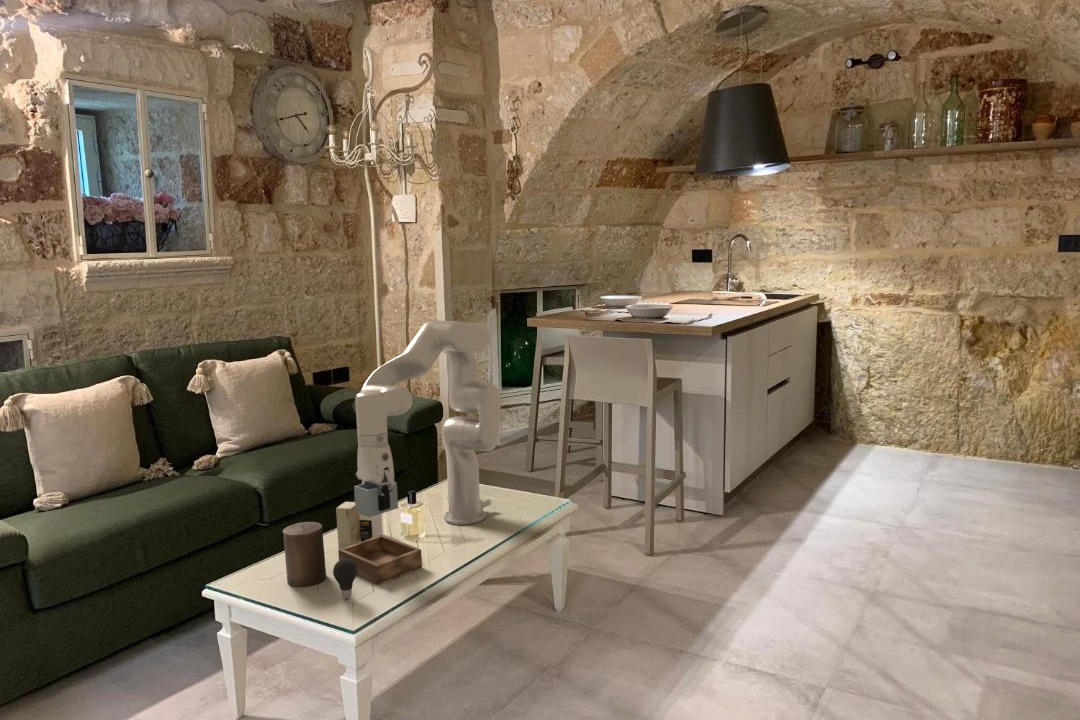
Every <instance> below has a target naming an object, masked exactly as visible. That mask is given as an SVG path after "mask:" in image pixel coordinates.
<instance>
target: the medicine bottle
mask: <svg viewBox="0 0 1080 720" xmlns="http://www.w3.org/2000/svg"><path fill="white" fill-rule="evenodd" d="M353 502H355V499H354V500H353ZM382 514H383V513H382ZM382 514H379V515H376V516H373V517H367V516H364V515H361V514H359V516H360V533H361V542H362V541H365V540H368V539H371V538H374V537H377V536H380V535H384V529H383V528H384V527H383V515H382Z"/></svg>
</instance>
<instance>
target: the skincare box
mask: <svg viewBox="0 0 1080 720" xmlns="http://www.w3.org/2000/svg"><path fill="white" fill-rule="evenodd" d="M335 511H336V526H337V542H338V543H337V544H338V546H337V547H338V550H339V549H342V548H345V547H348V546H351V545H354V544H356V543H359V542H361V533H360V516H359V514H358V513H356V509H355V502H354V501H344V502H343V503H341V504H340V505H338V506H337V507H336V508H335Z"/></svg>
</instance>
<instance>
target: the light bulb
mask: <svg viewBox="0 0 1080 720" xmlns="http://www.w3.org/2000/svg"><path fill="white" fill-rule="evenodd" d="M332 574H333V577H334V579H335V581H336V582H337V584H338V585H339V589H340V591H341V592H340V594H341V598H343V599H344V600H345V601H346V600H349V598H351V597H352V595H353V592H352V591H353V590H352V588H353V585H354V581H355V579H356V577H357V576H356V574H357V567H356V564H355V563H354V562H353V561H352V560H350V559H341V560H339V559H338V561H337V562H336V563H335V564H334V566H333V569H332Z"/></svg>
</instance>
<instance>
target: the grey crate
mask: <svg viewBox="0 0 1080 720" xmlns="http://www.w3.org/2000/svg"><path fill="white" fill-rule="evenodd" d="M394 482H395V486H394V487H393V488H392V490H391V494H390V508H389V509H386V510H383V511H379V502H378V496H380V494H379V490H378V487H377V485H376V484H372V483H369V482H368V483H364V484H358V485H354V486H353V489H354V491H353V492H354V493H353V494H354V500H355V509H356V513H358V514H361V515H364V516H367V517H373V516H376V515H379V514H384V513H388V512H391V511H394V510H398V509H399V503H398V501H399V500H398V482H396V481H394ZM382 483H384V480H383V481H382ZM384 488H385V485H382V489H384Z"/></svg>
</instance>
